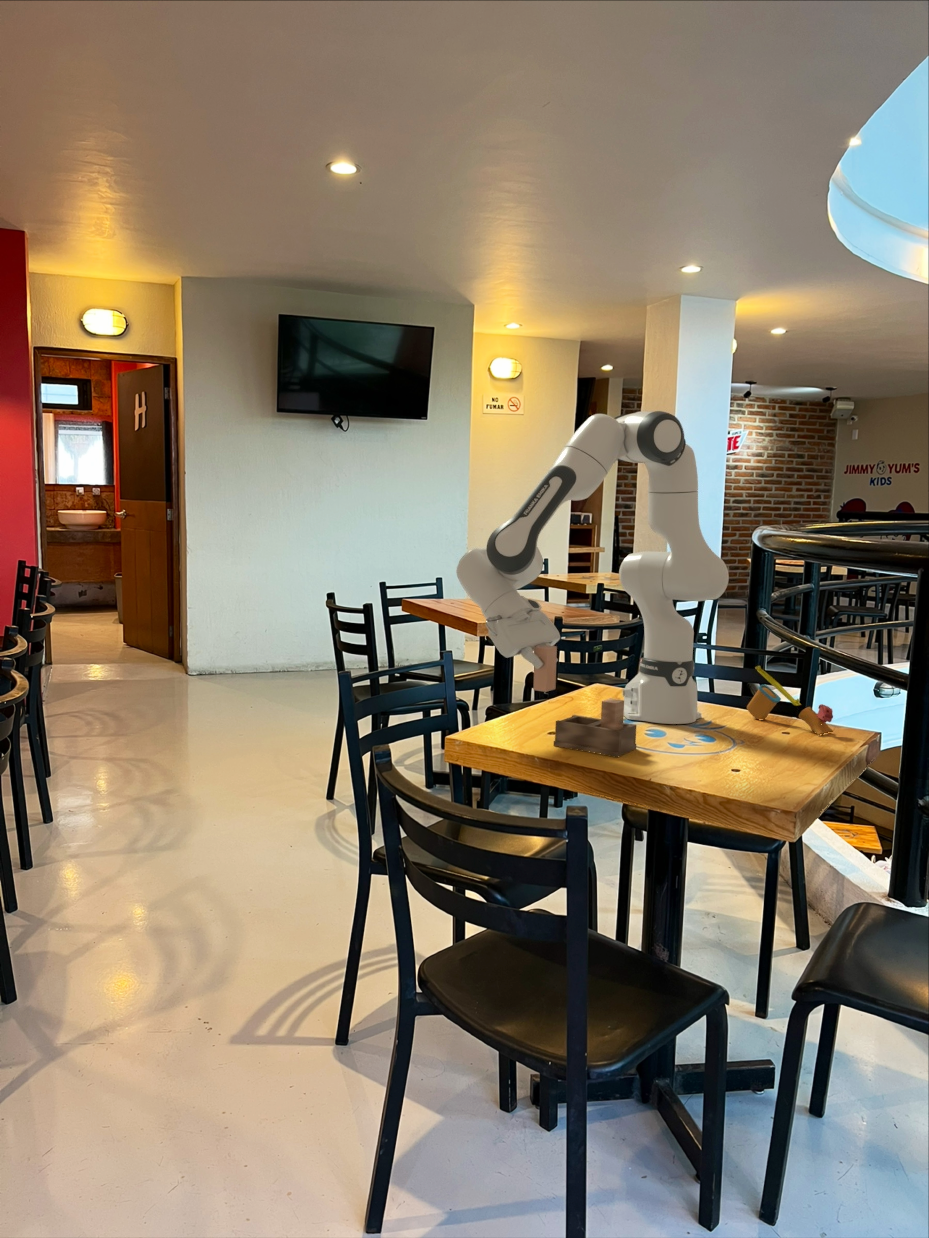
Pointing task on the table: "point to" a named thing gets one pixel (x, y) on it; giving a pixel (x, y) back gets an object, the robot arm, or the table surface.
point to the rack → (598, 731)
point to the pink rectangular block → (546, 669)
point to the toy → (768, 699)
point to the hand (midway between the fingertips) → (547, 665)
